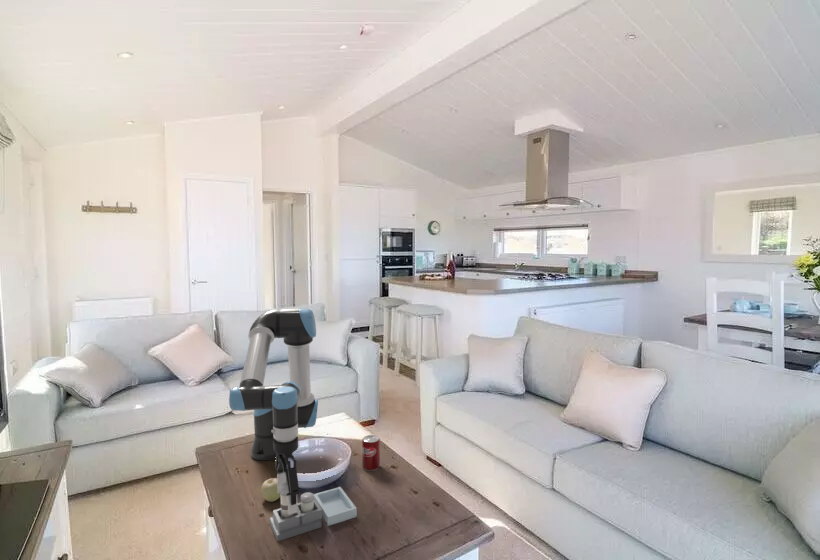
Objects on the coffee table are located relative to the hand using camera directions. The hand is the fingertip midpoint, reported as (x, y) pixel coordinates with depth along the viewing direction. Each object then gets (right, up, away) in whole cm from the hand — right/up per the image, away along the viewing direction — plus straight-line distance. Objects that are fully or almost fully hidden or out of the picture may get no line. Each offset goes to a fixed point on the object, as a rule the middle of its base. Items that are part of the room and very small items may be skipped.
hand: (287, 502), depth 144 cm
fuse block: (+2, -9, +2) cm, 9 cm away
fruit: (-10, -7, +17) cm, 21 cm away
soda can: (+23, -5, +39) cm, 46 cm away
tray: (+13, -8, +11) cm, 19 cm away
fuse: (0, -7, +1) cm, 7 cm away
